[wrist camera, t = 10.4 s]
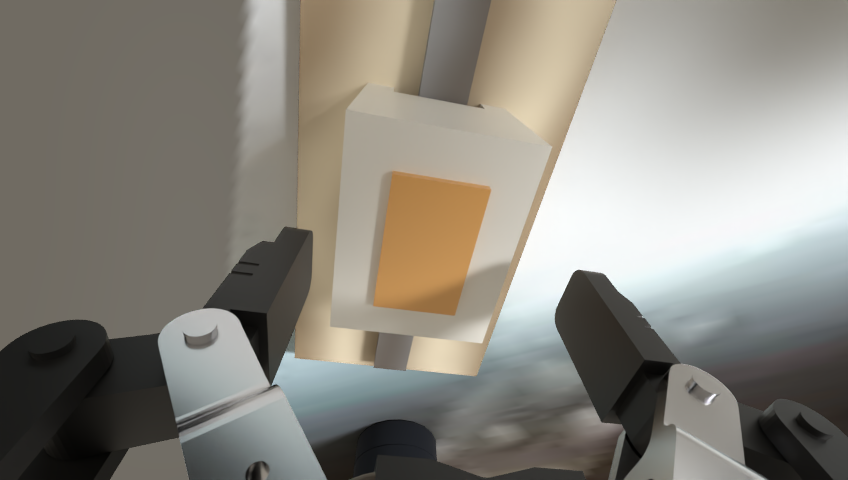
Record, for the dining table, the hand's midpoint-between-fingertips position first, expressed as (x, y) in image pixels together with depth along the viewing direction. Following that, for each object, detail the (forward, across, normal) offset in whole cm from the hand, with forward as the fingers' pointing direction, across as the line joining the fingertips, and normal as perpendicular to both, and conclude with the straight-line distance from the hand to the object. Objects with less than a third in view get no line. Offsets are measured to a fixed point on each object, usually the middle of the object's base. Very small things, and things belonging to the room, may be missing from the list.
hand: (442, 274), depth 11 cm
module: (+8, 0, 0) cm, 8 cm away
